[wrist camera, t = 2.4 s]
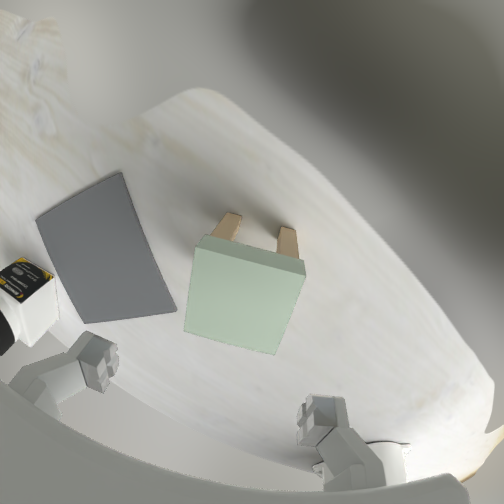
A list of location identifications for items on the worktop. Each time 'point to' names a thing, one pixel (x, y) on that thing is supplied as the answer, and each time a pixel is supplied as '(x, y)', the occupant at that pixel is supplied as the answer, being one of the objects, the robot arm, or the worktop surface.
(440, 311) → the worktop surface
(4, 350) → the medicine bottle
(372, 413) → the worktop surface
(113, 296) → the mat
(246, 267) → the stool
